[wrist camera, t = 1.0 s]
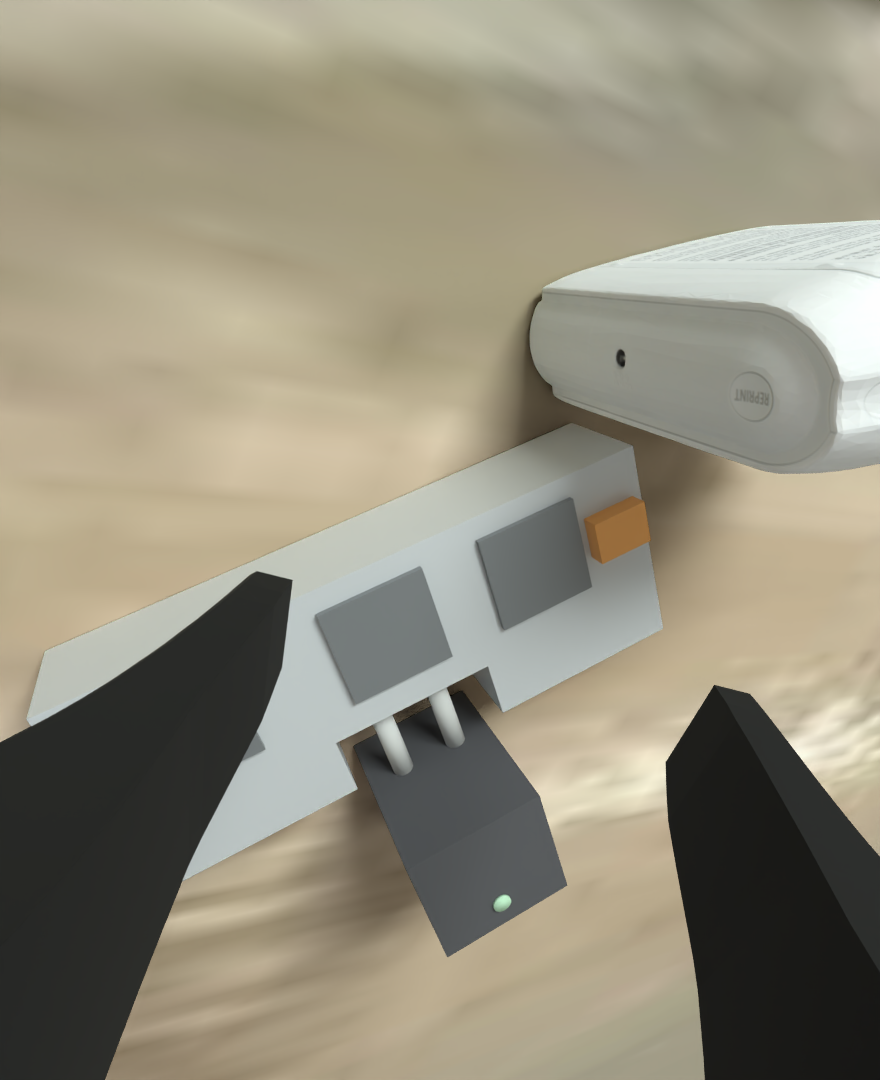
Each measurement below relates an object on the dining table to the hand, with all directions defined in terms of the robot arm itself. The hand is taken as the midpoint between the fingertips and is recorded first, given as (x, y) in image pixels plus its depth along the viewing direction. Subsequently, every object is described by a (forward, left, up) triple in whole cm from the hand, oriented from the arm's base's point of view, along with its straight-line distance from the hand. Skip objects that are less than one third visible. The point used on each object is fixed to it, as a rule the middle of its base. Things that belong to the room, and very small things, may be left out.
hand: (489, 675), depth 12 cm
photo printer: (+12, +1, -12) cm, 17 cm away
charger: (-1, -10, -11) cm, 15 cm away
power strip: (-1, -5, -11) cm, 12 cm away
